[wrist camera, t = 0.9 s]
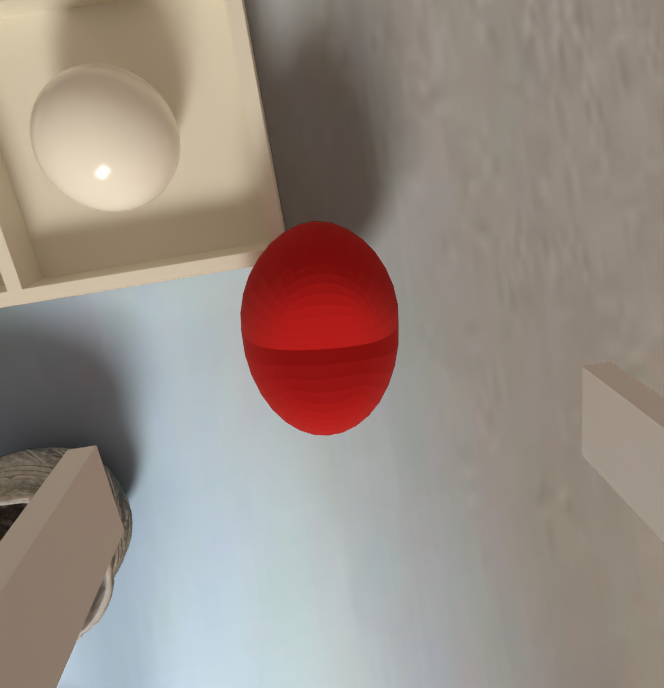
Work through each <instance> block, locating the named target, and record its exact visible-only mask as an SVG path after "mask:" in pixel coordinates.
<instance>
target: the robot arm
mask: <svg viewBox="0 0 664 688" xmlns="http://www.w3.org/2000/svg"><path fill="white" fill-rule="evenodd" d="M582 456H583V457H584V458H585V459H586V460H587V461H588V462H589V463H590V464H591V465H592V466H593V467H594V469H595V470H596V471H597V472H598V473H599V474H600V475H601V476H602V477H603V478H604V479H605V480H606V481H607V482H608V483H609V485H610V486H611V487H612V488H613V489H614V490H615V491H616V492H617V493H618V494H619V495H620V496H621V497H622V498H623V499H624V500H625V502H626V503H627V504H628V505H629V506H630V507H631V508H632V509H633V510H634V511H635V512H636V513H637V514H638V515H639V516H640V518H641V519H642V520H643V521H644V522H645V523H646V524H647V525H648V526H649V527H650V528H651V529H652V530H653V531H654V532H655V534H656V535H657V536H658V537H659V538H660V539H661V540H662V541H663V542H664V398H663V397H662V396H660V395H659V394H657V393H656V392H654V391H653V390H651V389H650V388H648V387H647V386H645V385H644V384H642V383H641V382H639V381H638V380H637V379H635V378H634V377H632V376H631V375H629V374H628V373H626V372H625V371H623V370H622V369H620V368H619V367H617V366H616V365H614V364H613V363H611V362H606V363H600V364H594V365H588V366H582ZM123 532H124V528H123V525H122V522H121V519H120V516H119V513H118V510H117V507H116V503H115V500H114V497H113V494H112V491H111V488H110V485H109V482H108V479H107V476H106V473H105V470H104V467H103V464H102V461H101V458H100V455H99V452H98V449H97V445H94V446H88V447H82V448H76V449H70V450H67V451H66V453H65V454H64V455H63V457H62V458H61V460H60V461H59V462H58V464H57V465H56V466H55V468H54V469H53V470H52V472H51V473H50V474H49V476H48V477H47V479H46V480H45V481H44V483H43V484H42V485H41V487H40V488H39V489H38V491H37V492H36V494H35V495H34V496H33V498H32V499H31V500H30V502H29V503H28V504H27V506H26V507H25V508H24V510H23V511H22V513H21V514H20V515H19V517H18V518H17V519H16V521H15V522H14V523H13V525H12V526H11V528H10V529H9V530H8V532H7V533H6V534H5V536H4V537H3V538H2V540H1V541H0V688H56V687H57V684H58V682H59V680H60V677H61V675H62V673H63V671H64V668H65V666H66V664H67V661H68V659H69V657H70V654H71V652H72V650H73V647H74V645H75V643H76V641H77V638H78V636H79V634H80V631H81V629H82V627H83V624H84V622H85V620H86V618H87V615H88V613H89V611H90V608H91V606H92V604H93V601H94V599H95V597H96V595H97V592H98V590H99V588H100V585H101V583H102V581H103V578H104V576H105V574H106V572H107V569H108V567H109V565H110V562H111V560H112V558H113V555H114V553H115V551H116V548H117V546H118V544H119V542H120V539H121V537H122V535H123Z"/></svg>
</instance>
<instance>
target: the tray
mask: <svg viewBox="0 0 664 688" xmlns="http://www.w3.org/2000/svg"><path fill="white" fill-rule="evenodd" d="M89 63H103V64H109V65H114V66H118V67H121V68H124V69H127V70H129V71H131V72H133V73H135V74H137V75H138V76H140V77H141V78H143V79H144V80H146V81H147V82H148V83H149V84H150V85H152V86H153V87H154V88H155V89H156V90H157V91H158V92H159V93H160V94H161V96H162V97H163V98H164V100H165V101H166V102H167V104H168V106H169V107H170V109H171V111H172V113H173V115H174V118H175V120H176V123H177V127H178V130H179V136H180V158H179V163H178V167H177V170H176V172H175V175H174V177H173V179H172V181H171V183H170V184H169V185H168V187H167V188H166V189H165V190H164V191H163V192H162V193H161V194H160V195H159V196H158V197H157V198H156V199H154V200H153V201H152V202H150V203H148V204H146V205H145V206H142V207H140V208H137V209H134V210H129V211H123V212H105V211H99V210H95V209H92V208H88V207H85V206H83V205H81V204H78V203H77V202H75V201H73V200H71V199H70V198H68V197H67V196H65V195H64V194H63V193H61V192H60V191H59V190H58V189H57V188H56V187H55V186H54V185H53V184H52V183H51V182H50V181H49V179H48V178H47V177H46V176H45V174H44V173H43V171H42V170H41V168H40V166H39V164H38V162H37V160H36V158H35V155H34V152H33V149H32V145H31V140H30V117H31V112H32V108H33V105H34V103H35V101H36V98H37V96H38V95H39V93H40V92H41V90H42V89H43V87H44V86H45V85H46V84H47V83H48V82H49V81H50V80H51V79H52V78H53V77H54V76H56V75H57V74H59V73H60V72H62V71H64V70H66V69H69V68H71V67H74V66H78V65H82V64H89ZM283 232H285V227H284V221H283V216H282V210H281V205H280V199H279V193H278V188H277V182H276V176H275V171H274V165H273V160H272V154H271V148H270V143H269V137H268V131H267V126H266V120H265V115H264V109H263V103H262V98H261V92H260V86H259V81H258V75H257V70H256V64H255V58H254V53H253V47H252V41H251V36H250V30H249V24H248V19H247V13H246V8H245V2H244V0H0V308H2V307H8V306H14V305H20V304H27V303H33V302H39V301H45V300H51V299H57V298H63V297H69V296H75V295H82V294H88V293H94V292H100V291H106V290H112V289H118V288H124V287H130V286H136V285H143V284H149V283H155V282H161V281H167V280H173V279H179V278H185V277H191V276H198V275H204V274H210V273H216V272H222V271H228V270H234V269H240V268H246V267H252V266H254V265H255V263H256V261H257V259H258V258H259V257H260V255H261V254H262V253H263V252H264V250H265V249H266V248H267V247H268V245H269V244H270V243H271V242H272V241H274V240H275V239H276V238H277V237H278V236H279V235H281V234H282V233H283Z"/></svg>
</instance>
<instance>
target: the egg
mask: <svg viewBox="0 0 664 688" xmlns="http://www.w3.org/2000/svg"><path fill="white" fill-rule="evenodd" d="M30 140H31V145H32V149H33V152H34V155H35V158H36V160H37V162H38V164H39V166H40V168H41V170H42V171H43V173H44V174H45V176H46V177H47V178H48V179H49V181H50V182H51V183H52V184H53V185H54V186H55V187H56V188H57V189H58V190H59V191H60V192H61V193H63V194H64V195H65V196H67V197H68V198H70V199H71V200H73V201H75V202H77V203H78V204H81V205H83V206H85V207H88V208H92V209H95V210H99V211H105V212H123V211H129V210H134V209H137V208H140V207H142V206H145V205H146V204H148V203H150V202H152V201H153V200H154V199H156V198H157V197H158V196H159V195H160V194H161V193H162V192H163V191H164V190H165V189H166V188H167V187H168V185H169V184H170V183H171V181H172V179H173V177H174V175H175V172H176V170H177V167H178V163H179V158H180V136H179V130H178V127H177V123H176V120H175V118H174V115H173V113H172V111H171V109H170V107H169V106H168V104H167V102H166V101H165V100H164V98H163V97H162V96H161V94H160V93H159V92H158V91H157V90H156V89H155V88H154V87H153V86H152V85H150V84H149V83H148V82H147V81H146V80H144V79H143V78H141V77H140V76H138V75H137V74H135V73H133V72H131V71H129V70H127V69H124V68H121V67H118V66H114V65H109V64H103V63H89V64H82V65H78V66H74V67H71V68H69V69H66V70H64V71H62V72H60V73H59V74H57V75H56V76H54V77H53V78H52V79H51V80H50V81H49V82H48V83H47V84H46V85H45V86H44V87H43V89H42V90H41V92H40V93H39V95H38V96H37V98H36V101H35V103H34V105H33V108H32V112H31V117H30Z"/></svg>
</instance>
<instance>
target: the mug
mask: <svg viewBox="0 0 664 688" xmlns="http://www.w3.org/2000/svg"><path fill="white" fill-rule="evenodd" d="M67 450H70V448H62V447H52V448H35V449H28V450H24V451H18V452H16V453H11V454H8V455H6V456H3V457H0V541H1V540H2V538H3V537H4V536H5V534H6V533H7V532H8V530H9V529H10V528H11V526H12V525H13V523H14V522H15V521H16V519H17V518H18V517H19V515H20V514H21V513H22V511H23V510H24V508H25V507H26V506H27V504H28V503H29V502H30V500H31V499H32V498H33V496H34V495H35V494H36V492H37V491H38V489H39V488H40V487H41V485H42V484H43V483H44V481H45V480H46V479H47V477H48V476H49V474H50V473H51V472H52V470H53V469H54V468H55V466H56V465H57V464H58V462H59V461H60V460H61V458H62V457H63V455H64V454H65V453H66V451H67ZM102 464H103V463H102ZM103 467H104V470H105V473H106V476H107V479H108V482H109V485H110V488H111V491H112V494H113V497H114V500H115V503H116V507H117V510H118V513H119V516H120V519H121V522H122V525H123V528H124V532H123V535H122V537H121V539H120V542H119V544H118V546H117V548H116V551H115V553H114V555H113V558H112V560H111V562H110V565H109V567H108V569H107V572H106V574H105V576H104V578H103V581H102V583H101V585H100V588H99V590H98V592H97V595H96V597H95V599H94V601H93V604H92V606H91V608H90V611H89V613H88V615H87V618H86V620H85V622H84V624H83V627H82V629H81V631H80V634H79V636H78V638H77V640H78V639H79V638H80V637H82V635H83V634H84V633H86V632H87V631H88V630H89V629H91V628H92V627H93V626H94V625H95V624H96V623H97V622H99V620H100V619H101V617H102V616H103V614H104V612H105V611H106V609H107V607H108V605H109V602H110V599H111V596H112V592H113V585H114V577H115V575H116V573H117V571H118V569H119V568H120V566H121V564H122V562H123V559H124V557H125V554H126V552H127V550H128V547H129V544H130V540H131V534H132V514H131V509H130V506H129V502H128V499H127V496H126V493H125V491H124V490H123V488H122V486H121V485H120V483H119V482H118V480H117V479H116V477H115V476H114V474H113V473H112V472H111V471H110V469H109V468H108V467H107V466H106V465H104V464H103Z"/></svg>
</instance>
